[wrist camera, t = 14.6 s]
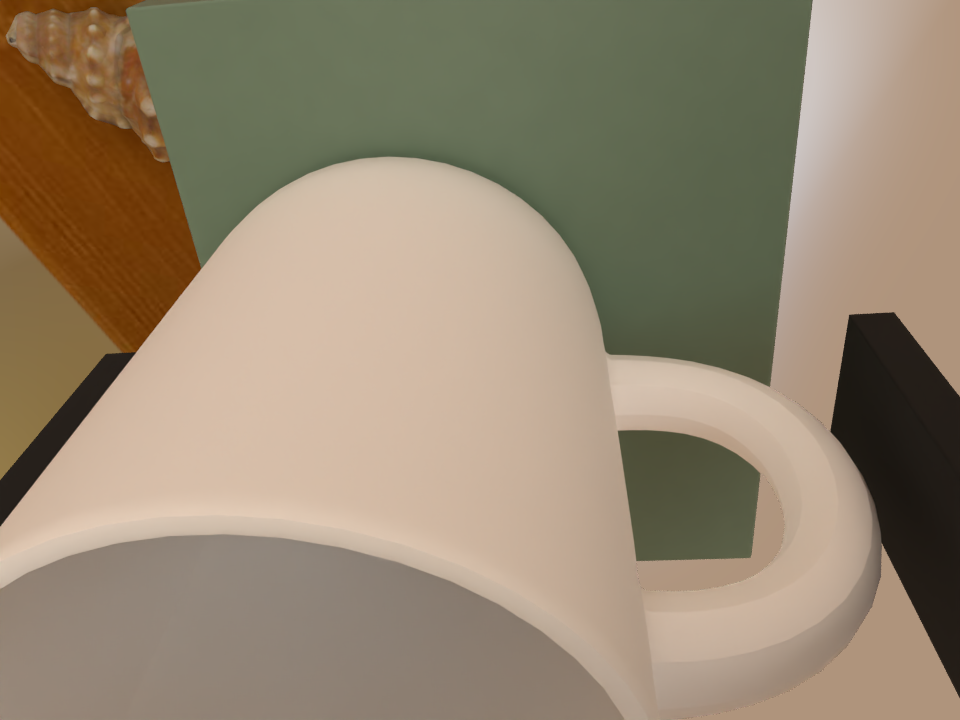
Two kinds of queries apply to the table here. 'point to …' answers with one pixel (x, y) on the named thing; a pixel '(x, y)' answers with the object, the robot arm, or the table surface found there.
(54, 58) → the seashell
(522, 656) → the mug
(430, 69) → the shelf
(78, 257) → the table surface
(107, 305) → the table surface
